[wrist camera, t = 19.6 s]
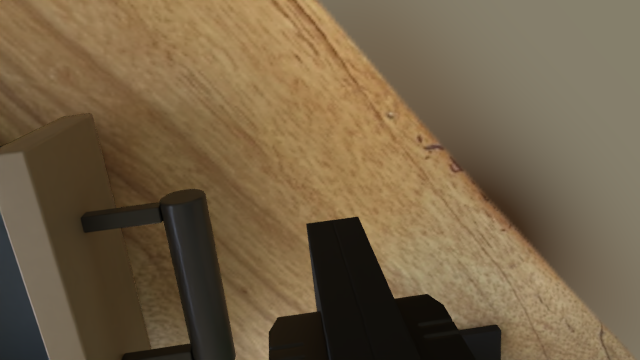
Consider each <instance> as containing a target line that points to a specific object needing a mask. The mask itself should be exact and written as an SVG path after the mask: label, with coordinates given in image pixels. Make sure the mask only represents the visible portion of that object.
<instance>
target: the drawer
mask: <svg viewBox="0 0 640 360" xmlns="http://www.w3.org/2000/svg"><path fill="white" fill-rule="evenodd" d="M162 221H163V222H164V227H165V231H166V236H167V240H168V245H169V249H170V254H171V258H172V263H173V267H174V272H175V276H176V281H177V285H178V290H179V294H180V299H181V304H182V308H183V313H184V317H185V322H186V326H187V331H188V335H189V340H190V344H184V345H177V346H170V347H164V348H157V349H151V345H150V342H149V338H148V334H147V330H146V326H145V322H144V318H143V314H142V310H141V306H140V302H139V298H138V294H137V290H136V286H135V282H134V278H133V274H132V270H131V266H130V262H129V258H128V254H127V250H126V246H125V242H124V238H123V234H122V230H121V228H126V227H133V226H141V225H148V224H156V223H161V222H162ZM235 357H236V353H235V348H234V342H233V337H232V332H231V327H230V321H229V316H228V311H227V305H226V300H225V295H224V289H223V284H222V279H221V274H220V268H219V263H218V258H217V252H216V247H215V242H214V236H213V231H212V226H211V221H210V215H209V210H208V205H207V199H206V194H205V193H204V191H202V190H198V189H187V190H180V191H176V192H173V193H170V194H168V195H166V196H164V197H162V198H161V199H160V202H159V203H151V204H144V205H136V206H128V207H121V208H116V206H115V202H114V198H113V194H112V190H111V186H110V182H109V178H108V174H107V170H106V166H105V162H104V158H103V154H102V150H101V146H100V142H99V138H98V134H97V131H96V127H95V123H94V119H93V115H92V114H90V113H89V114H80V115H72V116H64V117H61V118H59V119H57V120H55V121H53V122H51V123H49V124H47V125H45V126H43V127H41V128H39V129H37V130H35V131H33V132H31V133H29V134H27V135H25V136H23V137H20V138H18V139H16V140H14V141H12V142H10V143H8V144H6V145H4V146H0V360H235Z"/></svg>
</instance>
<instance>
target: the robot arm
mask: <svg viewBox="0 0 640 360" xmlns="http://www.w3.org/2000/svg"><path fill="white" fill-rule="evenodd" d="M306 225H307V234H308V242H309V250H310V258H311V266H312V274H313V282H314V290H315V299H316V306H317V312H311V313H305V314H298V315H291V316H284V317H278V318H277V320H276V321H275V323H274V325H273V326H272V328H271V330H270V331H269V360H476V359H475V357H474V355H473V354H472V352H471V350H470V349H469V347H468V345H467V344H466V342H465V340H464V339H463V337H462V335H461V334H459V330H458V329H457V327H456V325H455V324H454V322H452V319H451V317H450V315H449V314H448V312H447V310H446V309H445V307H444V305H443V304H441V303H440V302H438V301H437V300H435V299H434V298H432V297H431V296H430V295H428V294H424V295H417V296H410V297H403V298H397V299H394V297H393V295H392V293H391V290H390V288H389V286H388V283H387V281H386V279H385V277H384V274H383V272H382V270H381V268H380V265H379V263H378V261H377V258H376V256H375V254H374V252H373V249H372V247H371V245H370V243H369V240H368V238H367V236H366V233H365V231H364V229H363V227H362V224H361V222H360V220H359V218H358V217H352V218H345V219H338V220H330V221H323V222H315V223H308V224H306Z"/></svg>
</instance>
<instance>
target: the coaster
mask: <svg viewBox="0 0 640 360" xmlns="http://www.w3.org/2000/svg"><path fill="white" fill-rule="evenodd" d="M459 334H461V335H462V337H463V339H464V340H465V342H466V344H467V345H468V347H469V349H470V350H471V352H472V354H473V355H474V357H475V359H476V360H501V330H500V328H499V327H498V326H497V325H493V326H486V327H480V328H473V329H466V330H460V331H459Z"/></svg>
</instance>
